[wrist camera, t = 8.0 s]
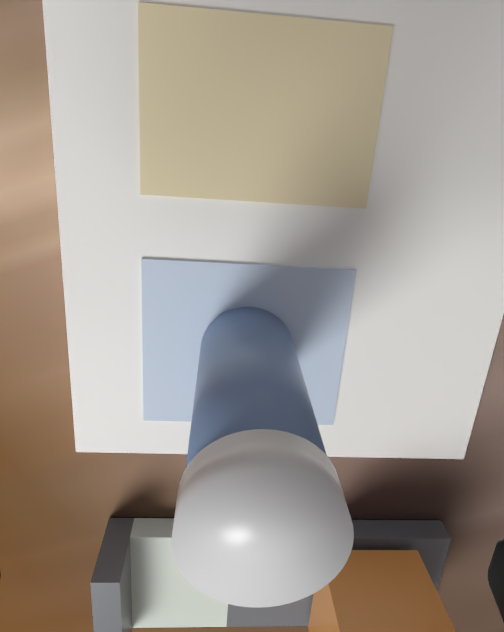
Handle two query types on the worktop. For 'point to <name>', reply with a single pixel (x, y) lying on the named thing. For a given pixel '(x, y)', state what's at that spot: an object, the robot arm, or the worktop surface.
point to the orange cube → (380, 596)
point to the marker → (257, 473)
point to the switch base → (203, 611)
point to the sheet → (281, 208)
